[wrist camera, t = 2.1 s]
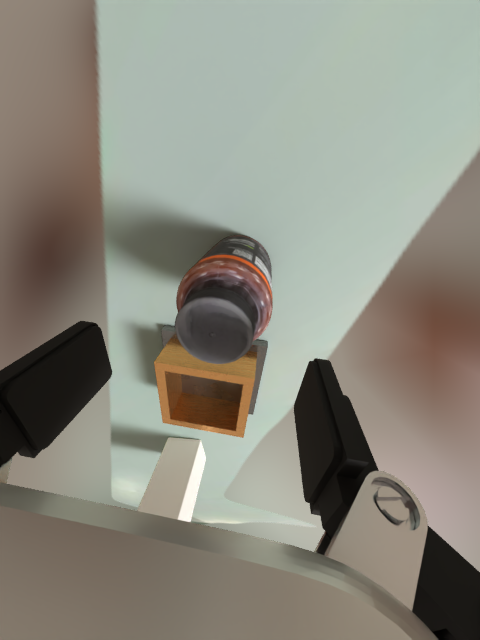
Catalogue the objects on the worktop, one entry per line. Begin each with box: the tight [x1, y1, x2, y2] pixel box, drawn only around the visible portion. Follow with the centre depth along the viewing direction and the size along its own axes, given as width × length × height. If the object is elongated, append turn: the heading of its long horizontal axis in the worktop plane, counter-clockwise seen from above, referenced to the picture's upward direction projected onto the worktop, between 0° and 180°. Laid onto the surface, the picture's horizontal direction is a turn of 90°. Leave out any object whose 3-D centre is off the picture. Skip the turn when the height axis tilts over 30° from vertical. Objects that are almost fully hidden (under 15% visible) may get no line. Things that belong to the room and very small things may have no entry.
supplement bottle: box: [175, 235, 272, 364], centre depth 15 cm, size 6×6×11 cm
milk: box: [137, 437, 206, 522], centre depth 29 cm, size 6×6×22 cm
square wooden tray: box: [154, 325, 268, 437], centre depth 25 cm, size 12×12×5 cm
